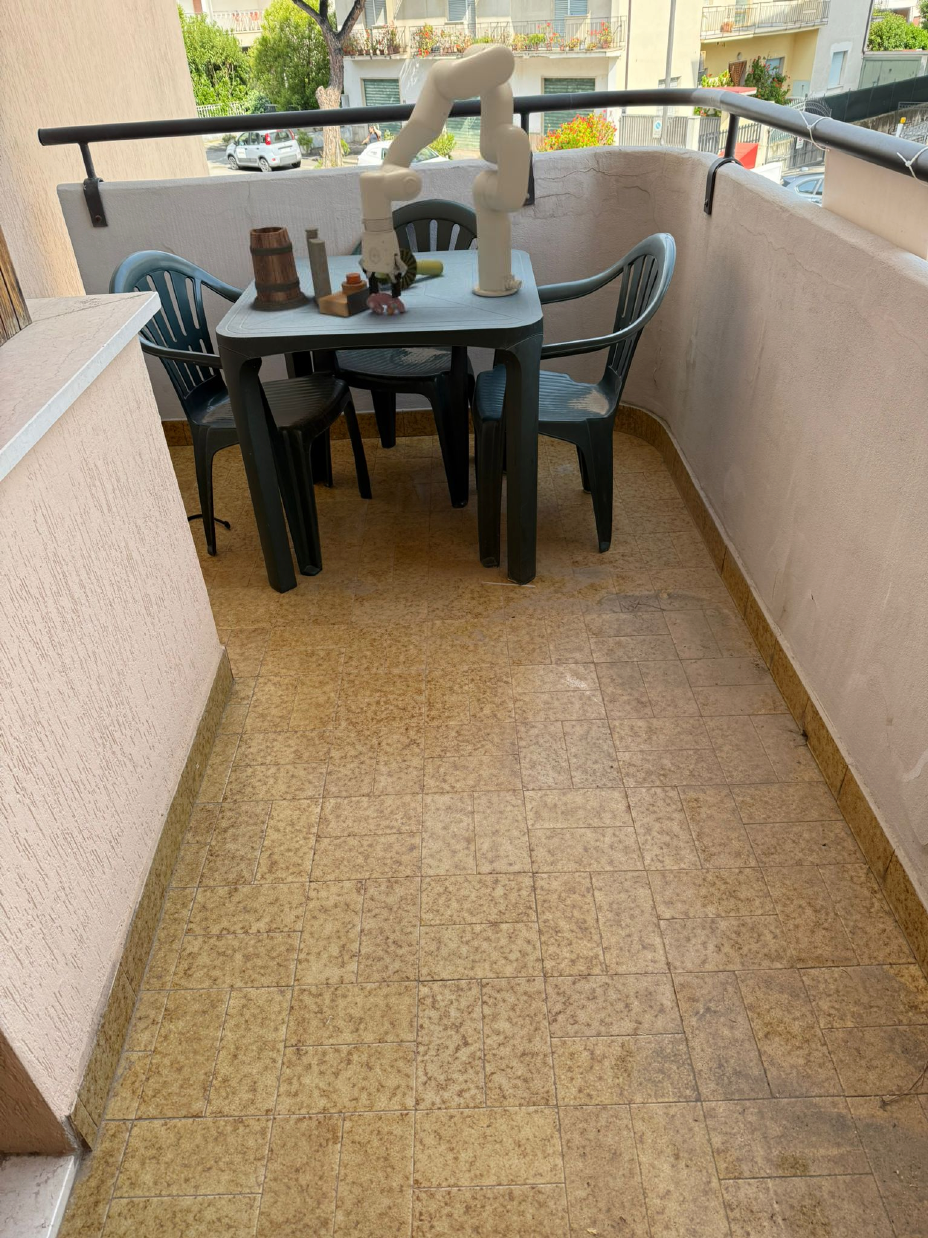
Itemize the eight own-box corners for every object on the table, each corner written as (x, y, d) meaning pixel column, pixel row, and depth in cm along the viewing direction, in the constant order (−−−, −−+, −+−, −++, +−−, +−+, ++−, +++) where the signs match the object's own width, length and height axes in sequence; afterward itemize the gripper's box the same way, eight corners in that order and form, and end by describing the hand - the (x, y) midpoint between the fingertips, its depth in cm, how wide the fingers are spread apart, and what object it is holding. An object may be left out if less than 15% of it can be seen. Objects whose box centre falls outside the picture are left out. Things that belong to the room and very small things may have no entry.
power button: (364, 282, 238) (363, 273, 236) (354, 286, 235) (353, 276, 234) (353, 281, 240) (352, 272, 238) (344, 284, 237) (343, 275, 236)
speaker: (381, 303, 241) (379, 281, 237) (346, 316, 231) (343, 294, 227) (355, 298, 245) (352, 277, 242) (320, 312, 236) (316, 290, 232)
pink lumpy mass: (369, 318, 233) (362, 298, 227) (374, 307, 235) (367, 286, 229) (402, 320, 231) (396, 300, 225) (407, 308, 233) (401, 288, 227)
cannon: (429, 271, 268) (426, 233, 261) (452, 277, 260) (450, 238, 254) (364, 287, 255) (360, 247, 249) (387, 294, 248) (383, 253, 241)
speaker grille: (380, 302, 239) (378, 283, 236) (350, 314, 231) (347, 295, 228) (379, 302, 240) (377, 283, 237) (348, 314, 231) (346, 294, 228)
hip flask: (334, 307, 239) (324, 231, 227) (320, 309, 238) (309, 233, 226) (325, 294, 251) (314, 221, 240) (311, 295, 251) (300, 223, 239)
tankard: (304, 309, 239) (292, 233, 227) (245, 312, 239) (231, 236, 228) (316, 287, 258) (306, 217, 246) (262, 290, 258) (249, 220, 247)
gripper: (344, 224, 220) (352, 294, 230) (395, 230, 212) (401, 302, 222) (363, 219, 225) (370, 288, 235) (413, 224, 216) (418, 295, 227)
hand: (385, 294), depth 228 cm, fingers closed on pink lumpy mass, 7 cm apart
